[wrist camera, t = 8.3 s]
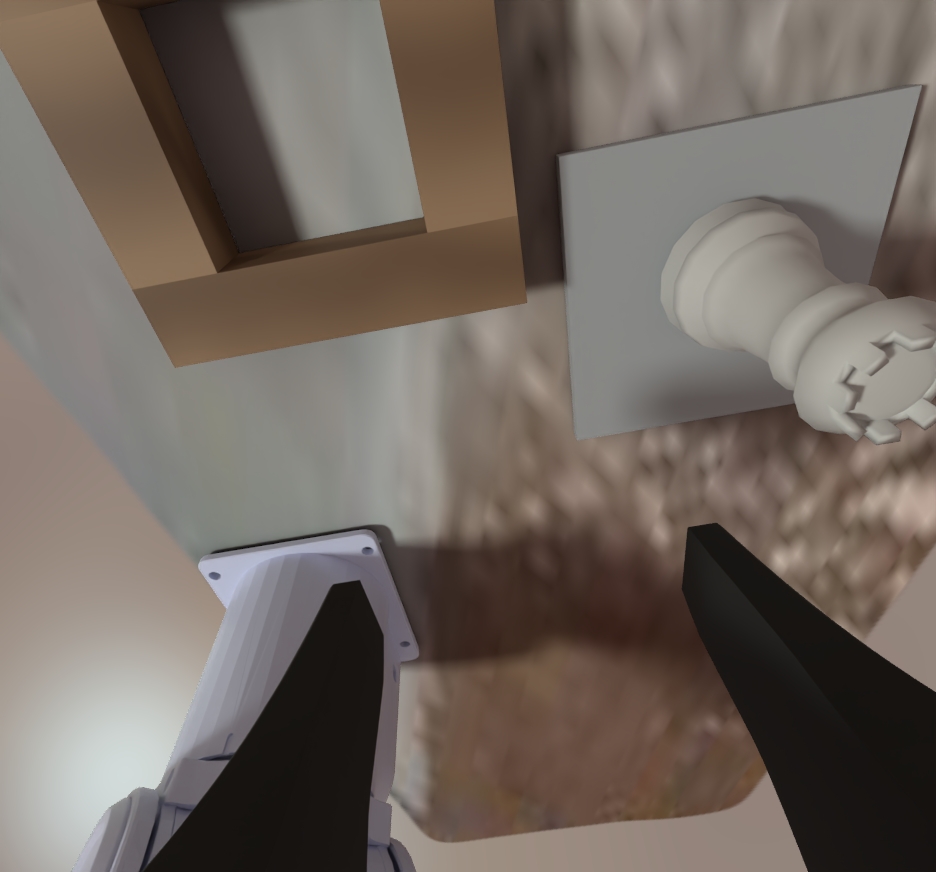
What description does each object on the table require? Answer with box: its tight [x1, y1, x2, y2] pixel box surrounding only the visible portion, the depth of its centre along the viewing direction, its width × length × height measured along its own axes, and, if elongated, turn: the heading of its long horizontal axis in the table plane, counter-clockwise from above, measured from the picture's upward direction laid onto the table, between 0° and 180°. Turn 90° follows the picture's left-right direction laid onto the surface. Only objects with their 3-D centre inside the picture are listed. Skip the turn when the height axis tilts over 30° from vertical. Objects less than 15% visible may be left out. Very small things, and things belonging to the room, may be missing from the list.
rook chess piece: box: [660, 198, 936, 445], centre depth 14 cm, size 4×4×8 cm
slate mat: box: [556, 85, 922, 440], centre depth 18 cm, size 10×10×1 cm
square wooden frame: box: [0, 0, 527, 368], centre depth 14 cm, size 11×11×2 cm
